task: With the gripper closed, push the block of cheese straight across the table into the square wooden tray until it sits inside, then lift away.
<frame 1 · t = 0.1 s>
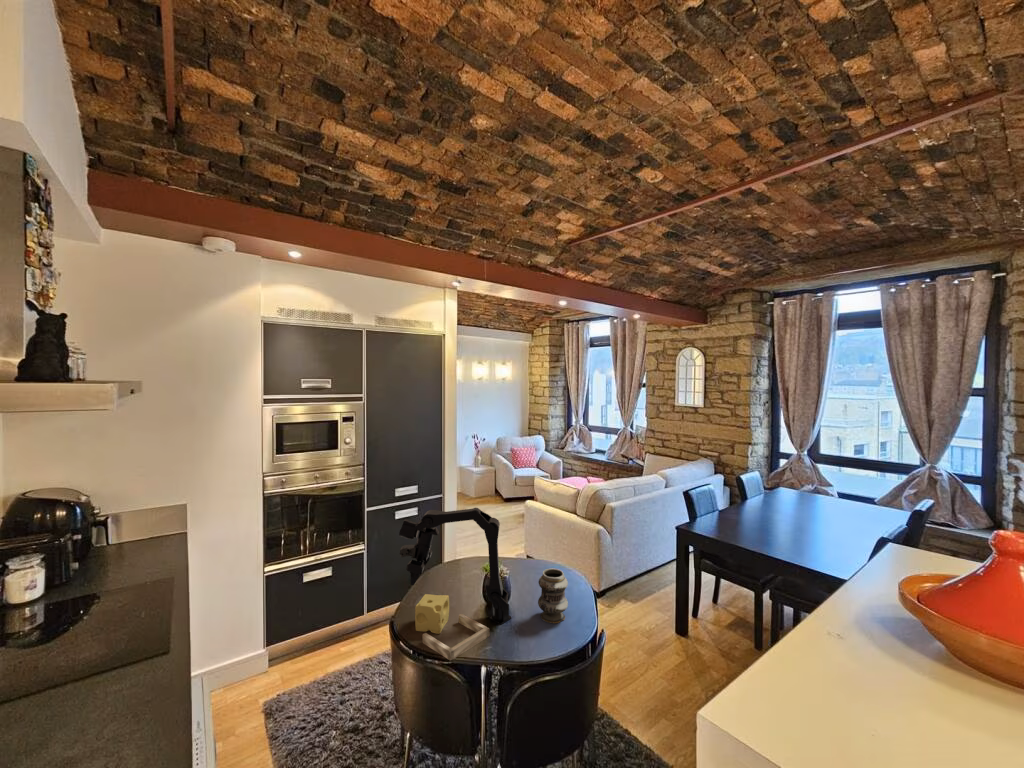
hand: (414, 579, 175), 15 cm above the table, tool pointing down, fingers open, 9 cm apart
square wooden tray: (455, 638, 161), on the table
cheese: (432, 626, 170), on the table
apothecary jar: (552, 617, 176), on the table
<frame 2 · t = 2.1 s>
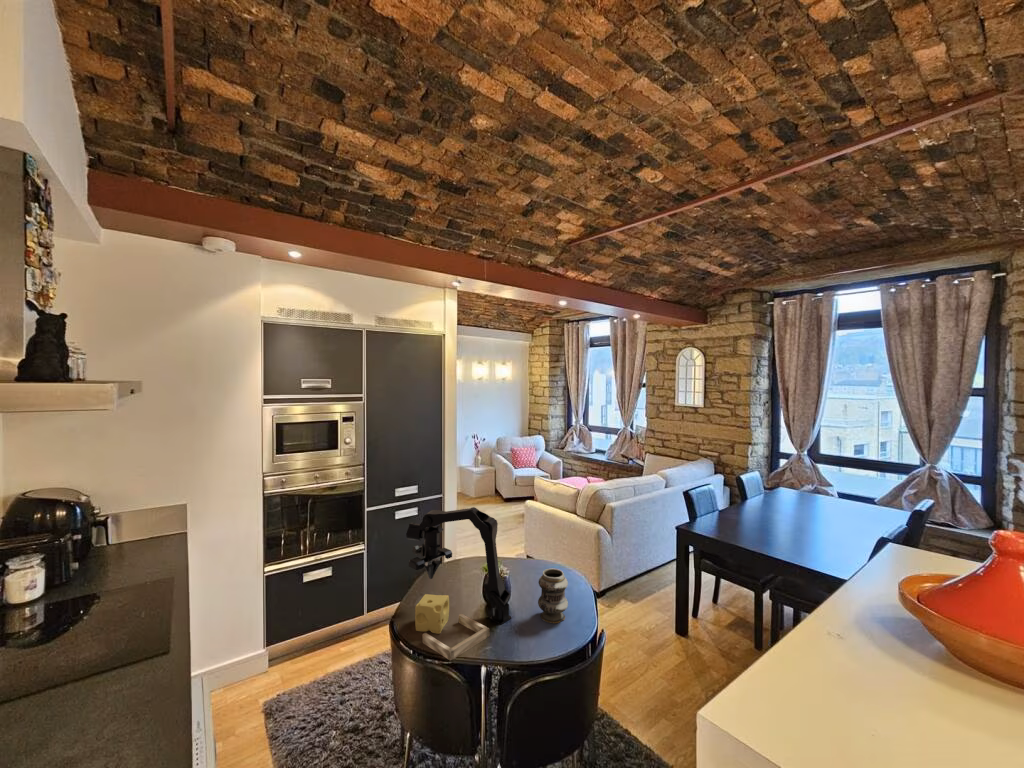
hand: (430, 578, 183), 12 cm above the table, tool pointing down, fingers closed
nothing on the table moved.
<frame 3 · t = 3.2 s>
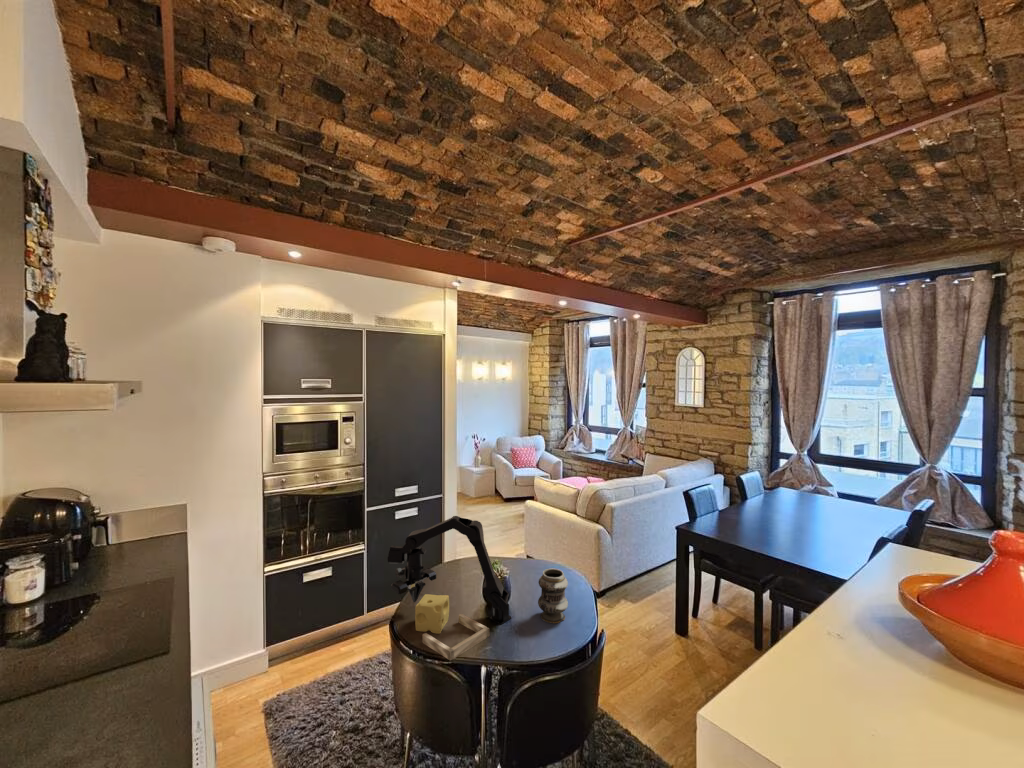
hand: (414, 601, 178), 5 cm above the table, tool pointing down, fingers closed
nothing on the table moved.
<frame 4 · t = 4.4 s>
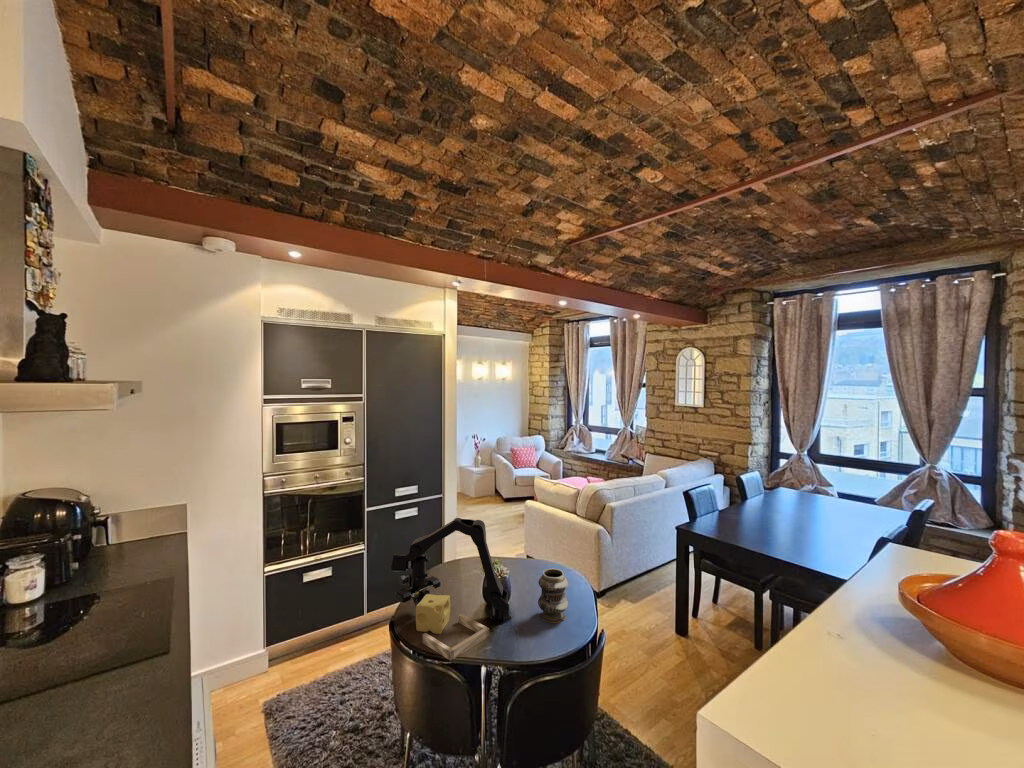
hand: (418, 609, 176), 3 cm above the table, tool pointing down, fingers closed
cheese: (432, 626, 170), on the table, touching gripper
everything else where it was.
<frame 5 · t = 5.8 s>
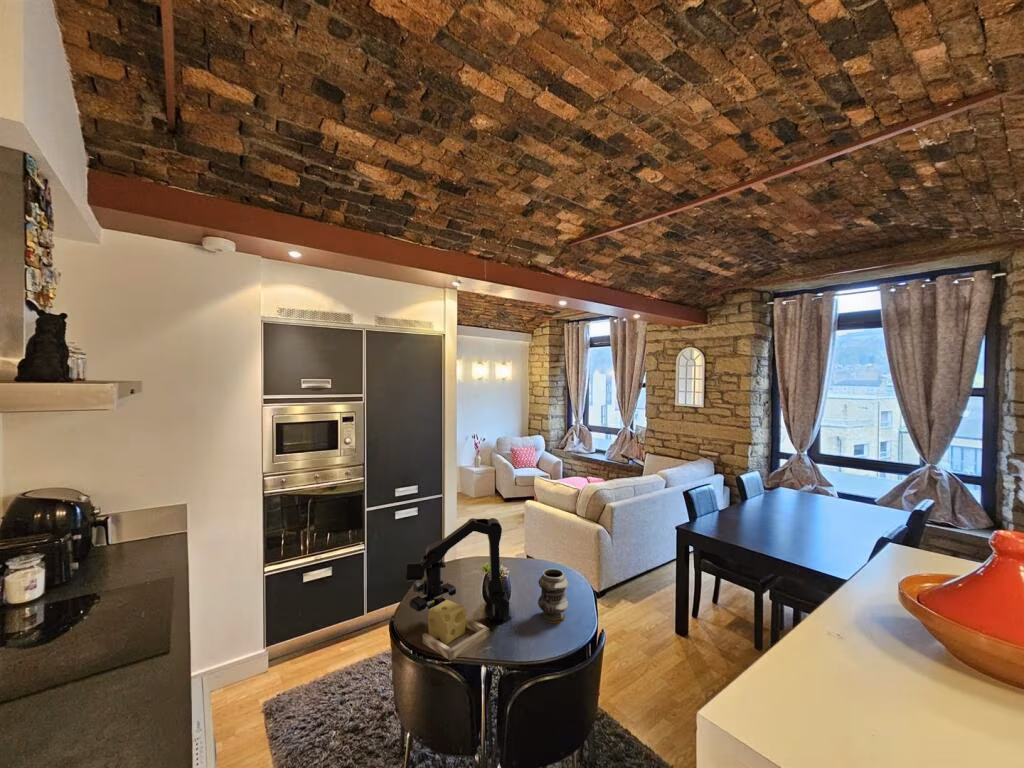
hand: (433, 618, 170), 3 cm above the table, tool pointing down, fingers closed
cheese: (446, 634, 164), on the table, touching gripper
everything else where it was.
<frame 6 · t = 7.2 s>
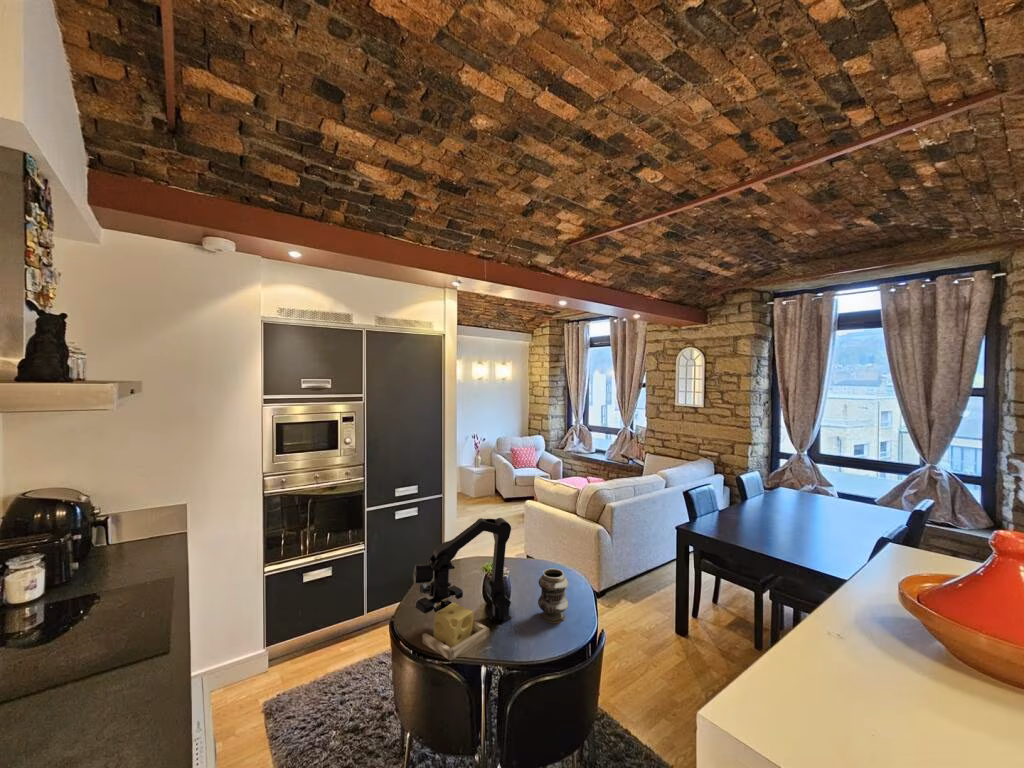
hand: (438, 620, 166), 4 cm above the table, tool pointing down, fingers closed
cheese: (452, 638, 161), on the table, touching gripper
everything else where it was.
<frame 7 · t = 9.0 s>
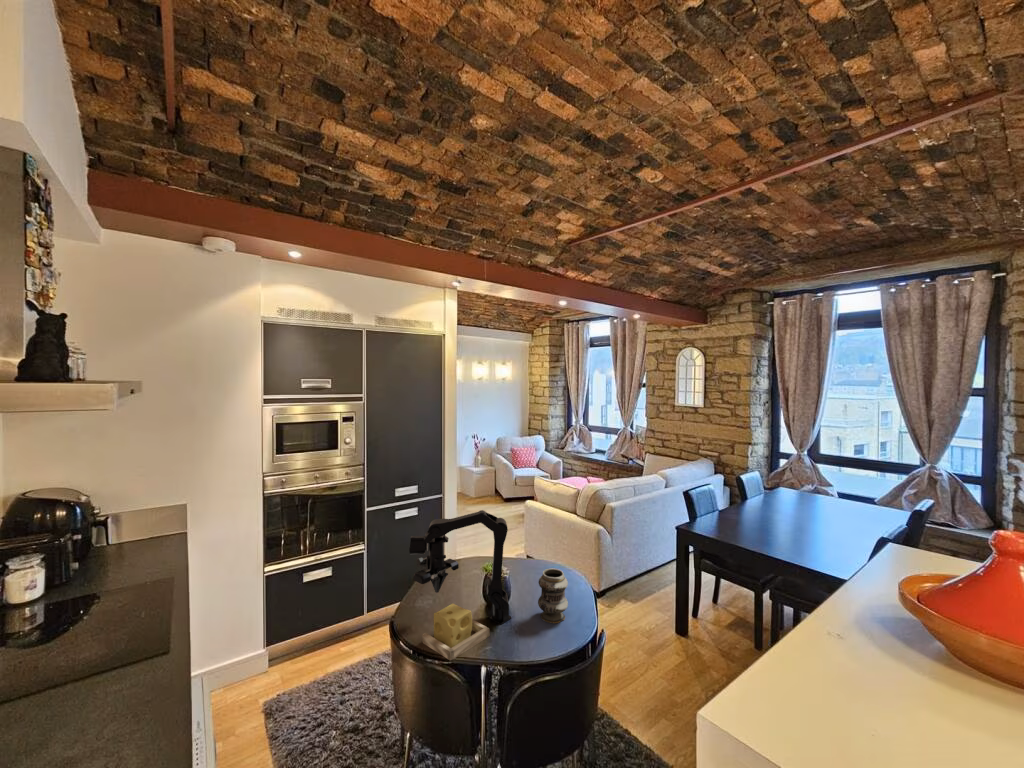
hand: (436, 592, 172), 12 cm above the table, tool pointing down, fingers closed
cheese: (452, 639, 161), on the table
everything else where it was.
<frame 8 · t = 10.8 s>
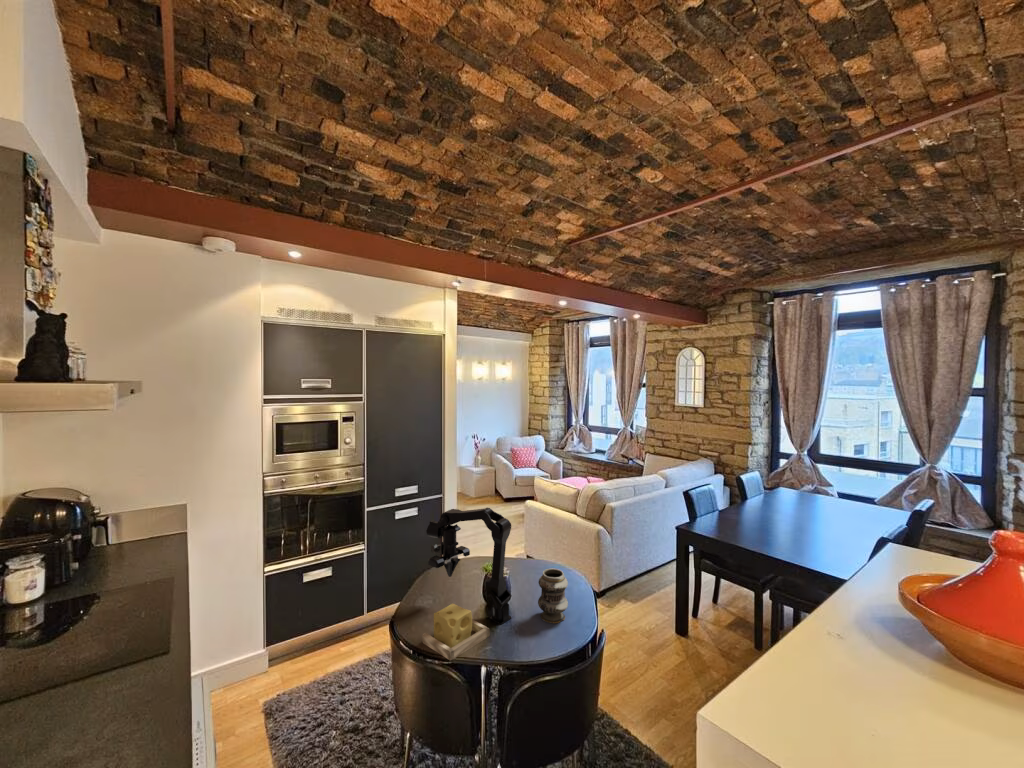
hand: (449, 576, 186), 12 cm above the table, tool pointing down, fingers closed
nothing on the table moved.
at the end: cheese inside the target area on the square wooden tray (0.8 cm from its centre), point 0.0 cm above the square wooden tray's base; cheese tilted 0°; cheese moved 12.6 cm from its start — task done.
